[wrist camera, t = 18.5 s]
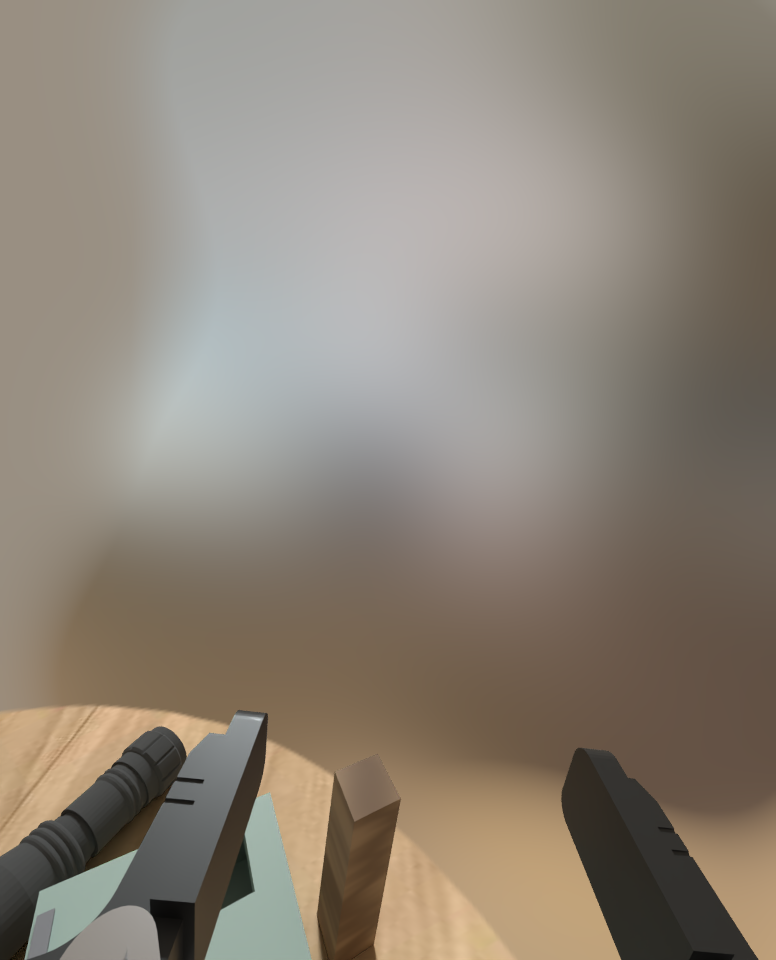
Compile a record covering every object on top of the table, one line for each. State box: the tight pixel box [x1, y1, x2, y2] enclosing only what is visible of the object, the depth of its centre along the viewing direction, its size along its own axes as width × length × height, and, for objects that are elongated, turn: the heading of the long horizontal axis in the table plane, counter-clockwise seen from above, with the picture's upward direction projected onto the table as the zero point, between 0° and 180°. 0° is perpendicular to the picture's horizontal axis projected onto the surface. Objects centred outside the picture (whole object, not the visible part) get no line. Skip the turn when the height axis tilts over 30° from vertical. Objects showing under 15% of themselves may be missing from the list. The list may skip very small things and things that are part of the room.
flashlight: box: [0, 727, 187, 960], centre depth 30 cm, size 15×5×5 cm, turn 160°
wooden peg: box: [317, 754, 401, 960], centre depth 26 cm, size 3×3×14 cm
